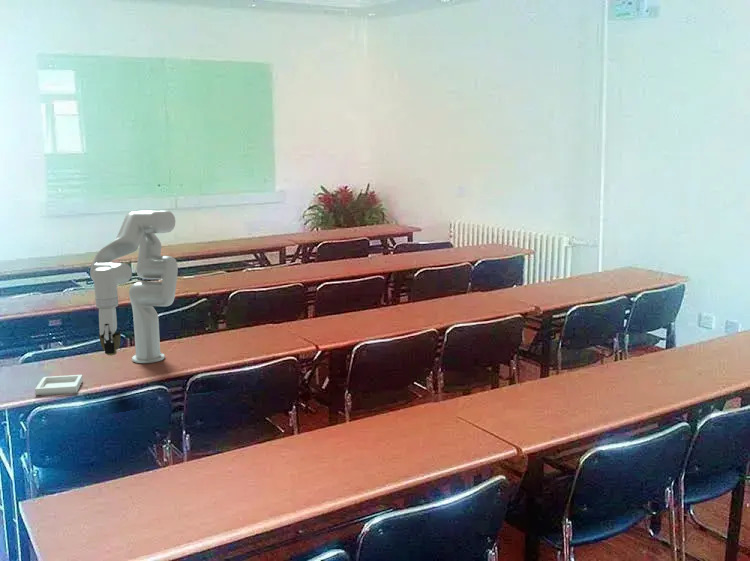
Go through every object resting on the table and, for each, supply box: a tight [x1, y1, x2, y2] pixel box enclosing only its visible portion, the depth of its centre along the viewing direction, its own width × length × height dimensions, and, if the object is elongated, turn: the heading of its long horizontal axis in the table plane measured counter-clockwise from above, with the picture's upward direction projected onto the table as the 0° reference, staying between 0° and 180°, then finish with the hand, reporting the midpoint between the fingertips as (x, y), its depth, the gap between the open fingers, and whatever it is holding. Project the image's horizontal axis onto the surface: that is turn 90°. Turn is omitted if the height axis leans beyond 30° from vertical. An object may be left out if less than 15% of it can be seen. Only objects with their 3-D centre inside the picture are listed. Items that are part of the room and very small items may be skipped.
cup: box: [98, 330, 122, 356], centre depth 271 cm, size 8×7×8 cm
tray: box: [34, 374, 84, 396], centre depth 269 cm, size 13×13×2 cm
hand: (111, 349), depth 271 cm, fingers closed on cup, 6 cm apart
